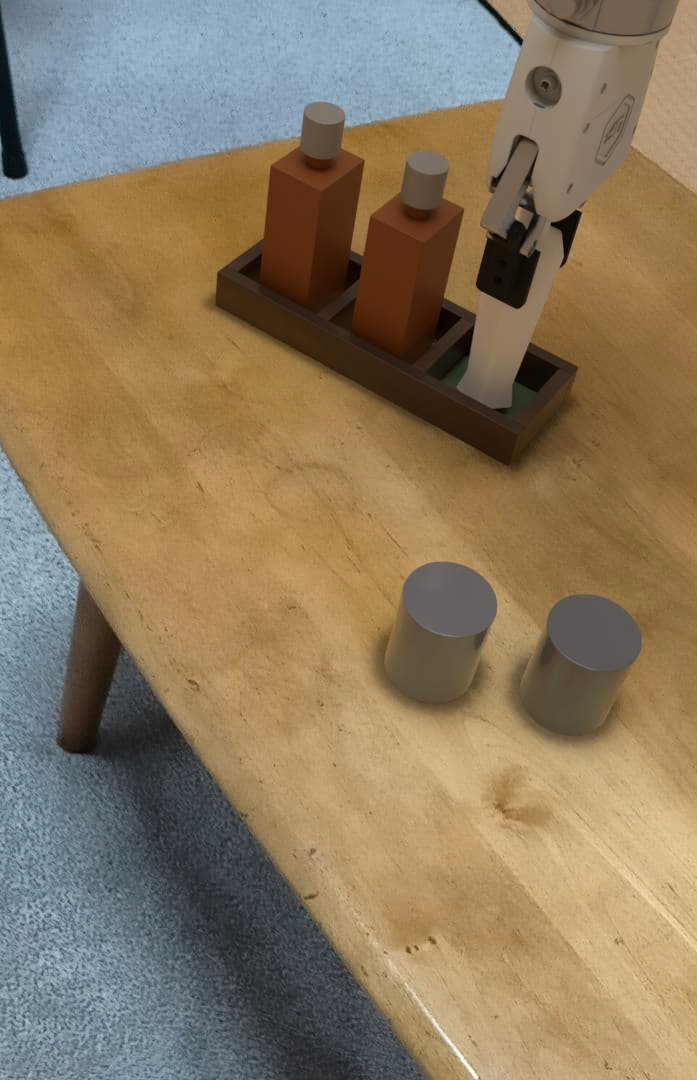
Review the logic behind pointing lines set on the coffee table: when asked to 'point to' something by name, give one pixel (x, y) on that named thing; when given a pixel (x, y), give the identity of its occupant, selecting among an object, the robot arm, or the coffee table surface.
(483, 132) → the coffee table surface
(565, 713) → the grey jar
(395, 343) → the amber bottle
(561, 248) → the perfume bottle
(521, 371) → the rack
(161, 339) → the coffee table surface
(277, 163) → the amber bottle
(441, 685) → the grey upright cylinder
